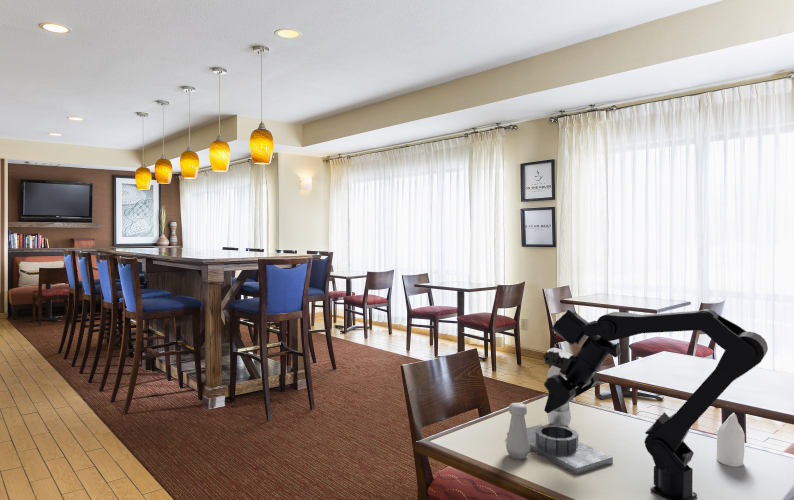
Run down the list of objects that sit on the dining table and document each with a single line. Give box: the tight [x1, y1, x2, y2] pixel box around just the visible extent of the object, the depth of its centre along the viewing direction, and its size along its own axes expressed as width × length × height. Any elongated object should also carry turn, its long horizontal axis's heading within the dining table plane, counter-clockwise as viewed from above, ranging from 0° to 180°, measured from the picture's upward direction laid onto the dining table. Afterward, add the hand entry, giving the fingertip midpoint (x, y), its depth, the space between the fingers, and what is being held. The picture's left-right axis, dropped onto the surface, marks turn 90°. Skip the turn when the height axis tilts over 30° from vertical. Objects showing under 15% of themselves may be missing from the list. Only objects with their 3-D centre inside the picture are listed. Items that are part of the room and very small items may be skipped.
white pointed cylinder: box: [716, 412, 746, 468], centre depth 122 cm, size 6×12×6 cm
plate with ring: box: [506, 424, 614, 475], centre depth 130 cm, size 24×12×4 cm, turn 28°
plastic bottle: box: [547, 365, 572, 427], centre depth 146 cm, size 6×7×20 cm
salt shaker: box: [505, 402, 530, 461], centre depth 126 cm, size 6×6×13 cm
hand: (554, 406), depth 124 cm, fingers open, 9 cm apart
